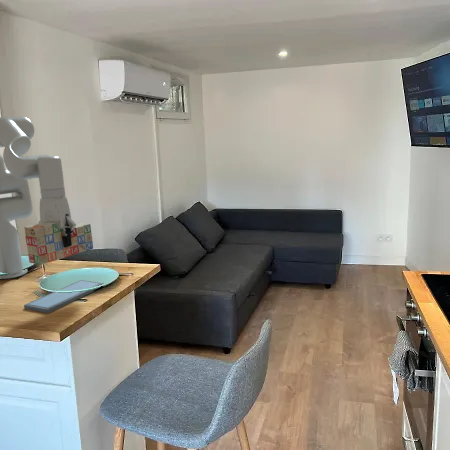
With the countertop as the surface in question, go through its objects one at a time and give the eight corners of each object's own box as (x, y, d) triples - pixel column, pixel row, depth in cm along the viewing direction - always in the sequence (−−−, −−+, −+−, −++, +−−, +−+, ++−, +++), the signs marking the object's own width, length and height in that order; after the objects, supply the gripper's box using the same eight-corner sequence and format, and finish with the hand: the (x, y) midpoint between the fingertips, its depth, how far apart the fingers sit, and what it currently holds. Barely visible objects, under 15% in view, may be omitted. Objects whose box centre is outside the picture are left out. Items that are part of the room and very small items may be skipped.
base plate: (24, 308, 149) (23, 304, 149) (81, 282, 171) (80, 279, 171) (48, 313, 144) (47, 309, 144) (103, 286, 167) (103, 283, 166)
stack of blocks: (82, 247, 165) (78, 214, 163) (93, 249, 162) (90, 215, 159) (28, 262, 148) (23, 226, 146) (39, 265, 145) (34, 227, 142)
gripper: (25, 194, 151) (32, 246, 154) (63, 196, 143) (70, 250, 147) (43, 191, 157) (50, 241, 161) (81, 192, 149) (86, 245, 153)
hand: (59, 245), depth 154 cm, fingers closed on stack of blocks, 6 cm apart
